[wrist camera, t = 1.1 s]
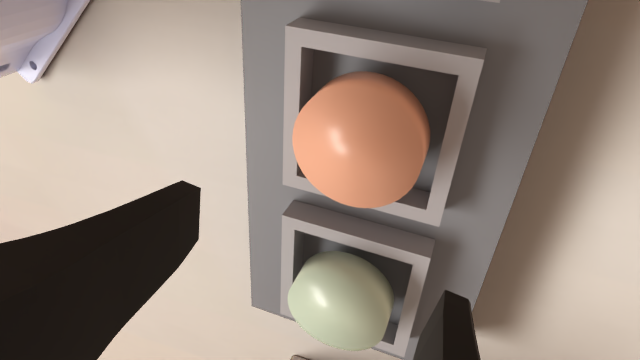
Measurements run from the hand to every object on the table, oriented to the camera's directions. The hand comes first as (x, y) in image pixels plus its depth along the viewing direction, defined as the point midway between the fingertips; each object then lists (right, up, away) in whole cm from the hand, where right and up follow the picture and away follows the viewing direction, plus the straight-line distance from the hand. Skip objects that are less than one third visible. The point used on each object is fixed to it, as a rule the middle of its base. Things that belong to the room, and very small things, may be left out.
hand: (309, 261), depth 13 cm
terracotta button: (+2, +4, +3) cm, 6 cm away
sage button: (+1, -3, +8) cm, 8 cm away
